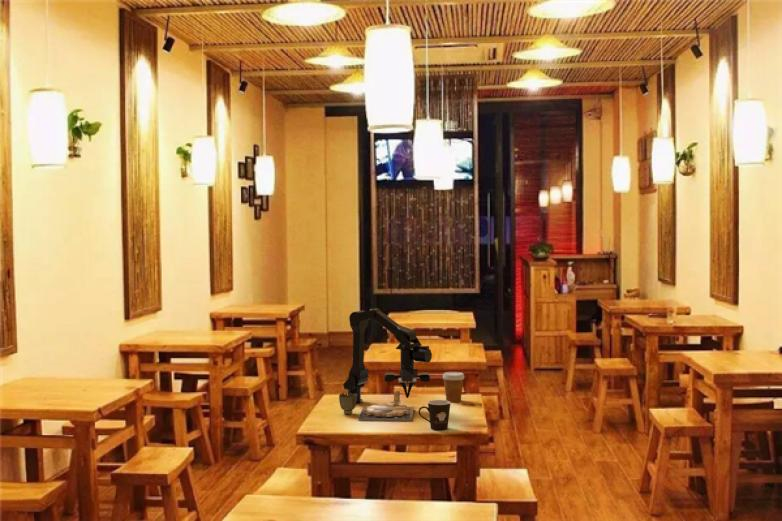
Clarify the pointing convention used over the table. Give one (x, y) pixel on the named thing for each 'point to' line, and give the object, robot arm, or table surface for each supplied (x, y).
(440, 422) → the coffee mug
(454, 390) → the disposable coffee cup
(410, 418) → the base plate
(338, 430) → the table surface
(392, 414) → the index wheel
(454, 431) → the table surface
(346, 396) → the cup
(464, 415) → the table surface
